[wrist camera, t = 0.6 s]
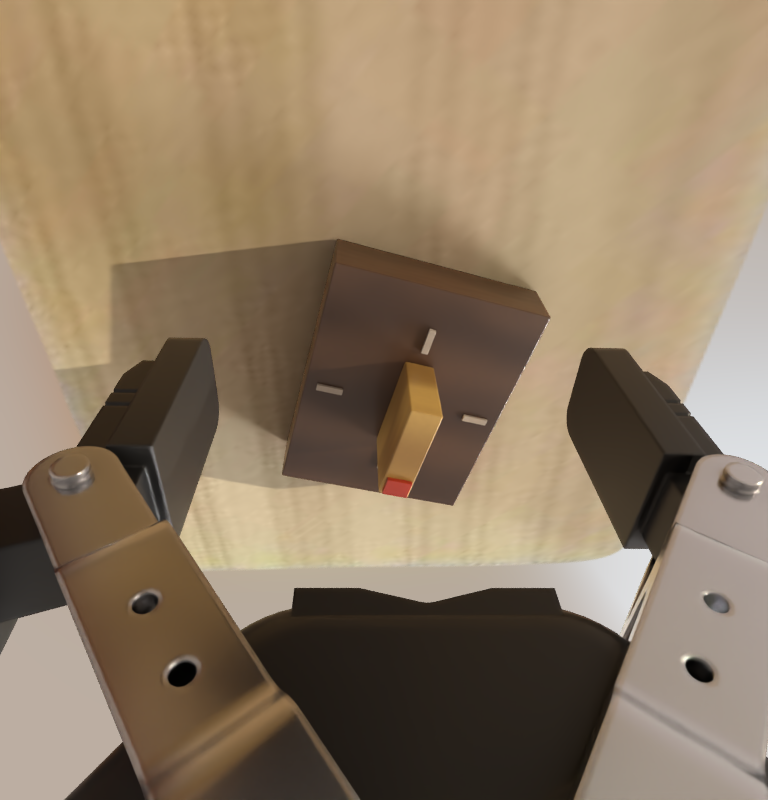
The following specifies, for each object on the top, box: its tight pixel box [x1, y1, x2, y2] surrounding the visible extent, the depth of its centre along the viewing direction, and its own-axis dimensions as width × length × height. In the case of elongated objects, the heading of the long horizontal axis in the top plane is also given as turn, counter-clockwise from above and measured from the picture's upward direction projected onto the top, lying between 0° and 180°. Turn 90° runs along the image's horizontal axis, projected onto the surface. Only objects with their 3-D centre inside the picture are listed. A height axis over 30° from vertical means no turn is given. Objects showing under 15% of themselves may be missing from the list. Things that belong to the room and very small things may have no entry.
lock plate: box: [282, 239, 551, 506], centre depth 32 cm, size 14×11×3 cm
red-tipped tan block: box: [377, 362, 443, 498], centre depth 29 cm, size 6×2×4 cm, turn 164°
